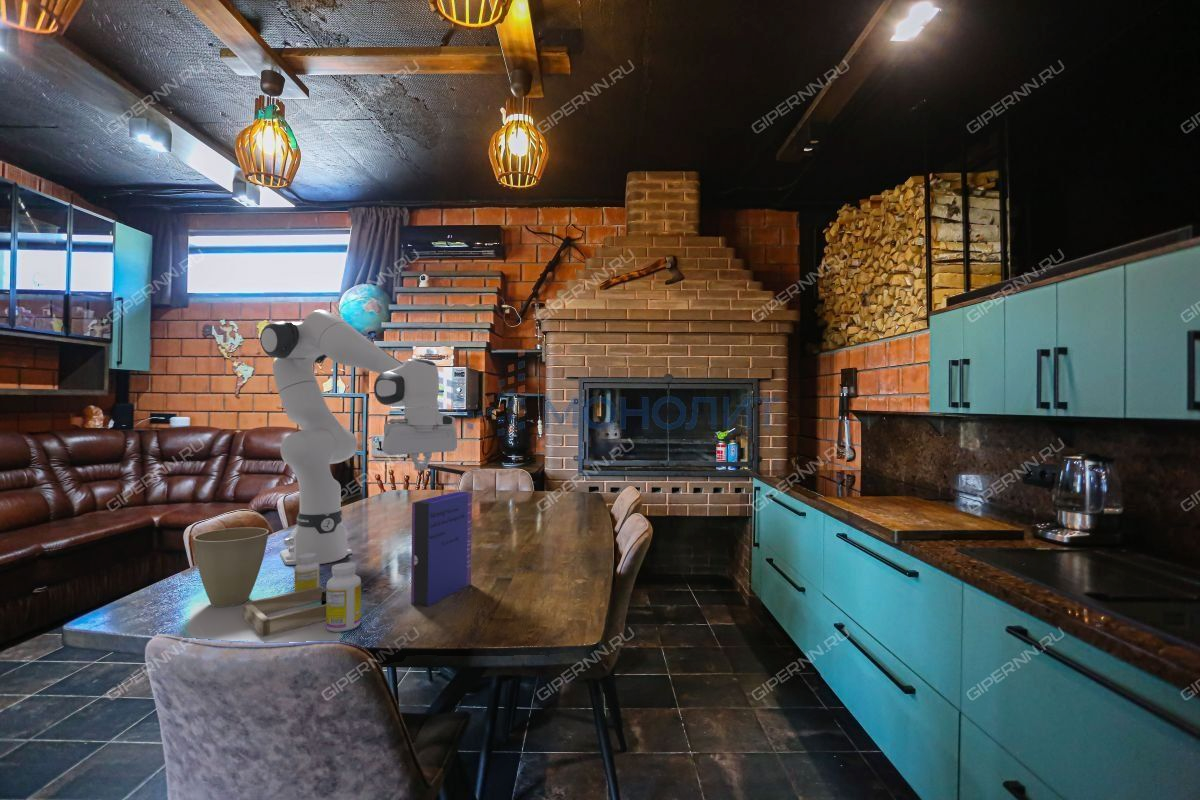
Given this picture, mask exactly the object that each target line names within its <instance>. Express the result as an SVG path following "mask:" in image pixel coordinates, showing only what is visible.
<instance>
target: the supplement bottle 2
mask: <svg viewBox="0 0 1200 800" xmlns="http://www.w3.org/2000/svg"><path fill="white" fill-rule="evenodd" d="M356 571H357V564H356V563H354V562H342V563H336V564H334V565H332V567H331V574H332V577H330V578H329V579H328V580H327V582H326V588H325V589H326V590H325V591H326V620H325V621H326V623H325V625H326V629H327V630H329V631H331V632H334V633H343V632H347V631H351V630H354V629H355V628H357V627H358V626H360V624H361V622H362V578H361V577H360V576H359V575H357V574H356Z"/></svg>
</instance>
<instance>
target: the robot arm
mask: <svg viewBox="0 0 1200 800" xmlns="http://www.w3.org/2000/svg"><path fill="white" fill-rule="evenodd" d="M259 338H260V342H259V343H260V345H261V348H262V350H263V351H264V353H265V354H266V356H267V355H268V356H269V357H272V358H276V359H275V360H274V362H273V364H272V372H273V378H274V382H275V383H274V384H275V386H276V389H277V392H278V396H279V398H280V400H281V403H282V405H283V409H284V412H285V414H286V416H287V418H288V420H290V421H292V422H293V423H295V424H296V425H298V427H300V428H301V430H298V431H295V432H293V433H291V434H288V435H287V436H285V437H284V438H283V439H282V442H281V444H280V450H279V451H280V456H281V459H282V460H283V462H284V463H285V464H286V465H288V466H289V467H290V468H291V469H292V471H293V473H294V475H295V477H296V480H297V484H298V490H299V491H298V493H299V495H298V496H299V512H298V513H297V516H296V526H295V528H294V529H293V531H292V532H291V533H290V534H289V537H288V538H284V542H283V544H284V546H285V547H288V548H285V549H283V550H280V552H279V555H280V557H281V559H282V561H283V564H284V565H286V566H293V565H295V566H296V565H298V564H299V563H298V556H299V555H301V554H306V553H315V554H316V561H315V562H317V563H318V564H319V565H323V564H328V563H329V564H330V563H333V562H337V561H340V560H342V559H344V558H346V556H348V555H351V554H352V553H353V551H352V549H350V548H348V534H347V533H348V532H347V527H346V526H345V525H343V523H342V521H343V510H342V509H341V501H342V500H341V495H342V494H341V493H342V490H341V489H342V486H341V484H340V482H339V481H338V480H337V479H335V478H334V476H333V475H332V471H331V465H333V464H339V463H342V462H345V461H347V460H348V459H351V458H352V457H353V456H354V455H355V454H356V453H357V450H358V439H357V437H356V435H355V434H354V433H353V432H352V431H350V430H349V429H347V428H345V427H344V425H342V423H341V422H340V421H339V420H338V419H337V418H336V415H334V413H333V412H332V410H331V409H330V408H329V406H328V404H327V402H326V400H325V397H324V394H323V392H322V389H321V387H320V384H319V383H318V380H317V378H316V376H315V373H314V369H313V368H314V367H313V366H314V363H317V364H321V363H323V362H324V361H325V360H326V359H327V358H328V359H330V360H332V361H333V362H335V363H337V364H340V365H343V366H347V367H352V368H359V369H365V370H369V371H372V372H375V373H377V374H378V376H377V377H376V378H375V381H374V385H373V394H374V397H375V399H376V400H377V401H378V402H379V403H380V404H381V405H384V406H389V407H404V413H403V414H404V415H403V416H404V418H398V419H396V418H395V419H394V418H392V419H389V420H388V421H386V422H385V423H384V425H383V433H384V435H383V442H382V452H383V453H384V454H385V455H386V456H397V455H399V456H401V455H410V459H411V461H412V462H413V464H414V470H415V471H416V472H417V471H427V470H428V464H429V462H430V461H431V459H432V458H433V454H434V453H447V452H448V453H449V452H455V451H456V450H457V448H458V434H457V428H456V427H455V426H454V425H455V424H456V418H455V417H454V416H452V415H448V414H445V413H443V412H440V409H439V408H440V406H439V402H438V397H439V393H440V376H439V369H438V365H437V364H436V363H435V362H434V361H433V360H427V359H422V358H413V357H411V358H408V359H407V360H406V361H405V363H402V361H400V360H399V359H397V358H396V357H394V356H393V355H392V354H389V353H388V352H387V351H385V350H384V349H382V348H380V347H379V346H378V345H377V344H375V343H374V342H373V341H371V340H369V338H367V337H366V336H364V335H363V334H362V333H360V332H359V330H357V329H356V328H354V327H353V326H352V325H351V324H349V323H348V322H347V321H345V320H344V319H343V318H341V317H340V316H338V315H337V314H334V313H332V312H330V311H328V310H325V309H316V310H312V311H311V312H310V313H308V315H306V316H305V318H304V320H303V321H275V322H271V323H269V324H268V323H267V324H266V325H264V327H263V329H262V330H261V332H260V337H259ZM420 454H422V456H423V460H422V462H420V461H419V459H418V458H420Z"/></svg>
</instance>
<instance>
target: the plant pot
mask: <svg viewBox="0 0 1200 800" xmlns="http://www.w3.org/2000/svg"><path fill="white" fill-rule="evenodd" d="M269 532H270V531H269V529H266V528H262V527H248V526H247V527H230V528H222V529H215V530H209V531H205V532H202V533H201V532H200V533H198V534H196V535H194V536H193V537H192V539H193V541H192V542H193V548H194V553H195V560H196V564H197V569H198V572H199V576H200V579H201V583H202V585H203V588H204V591H205V594H206V596H207V599H208V600H209V603H210V604H211V606H213V607H217V608H219V607H221V608H222V607H224V608H225V607H231V606H232V607H233V606H236V605H237V606H238V605H240V604H243V603H246V602H248V601H249V598H250V596H251V594H252V591H253V589H254V587H255V585H256V582H257V579H258V576H259V573H260V570H261V567H262V564H263V561H264V556H265V553H266V547H267V543H268V538H269Z"/></svg>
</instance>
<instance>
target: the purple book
mask: <svg viewBox="0 0 1200 800" xmlns="http://www.w3.org/2000/svg"><path fill="white" fill-rule="evenodd" d="M472 511H473V493H472V492H468V491H455V492H450V493H446V494H443V495H439V496H438V495H437V496H433V497H430V498H426V499H421V500H418V501H413V502H411V562H410V563H411V569H410V570H411V571H410V572H411V575H410V578H411V580H410V582H411V583H410V605H413V606H420V607H426V608H428V607H430V606H432V605H435V604H436V603H438V602H440V601H442V600H443V599H446V598H448V597H450V596H451V595H453V594H455V593H457V592H459V591H461V590H463V589H465V588H467V587H469V586H471V585H472V528H473V527H472V523H473V522H472V520H473V519H472V518H473V514H472V513H473V512H472Z"/></svg>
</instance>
